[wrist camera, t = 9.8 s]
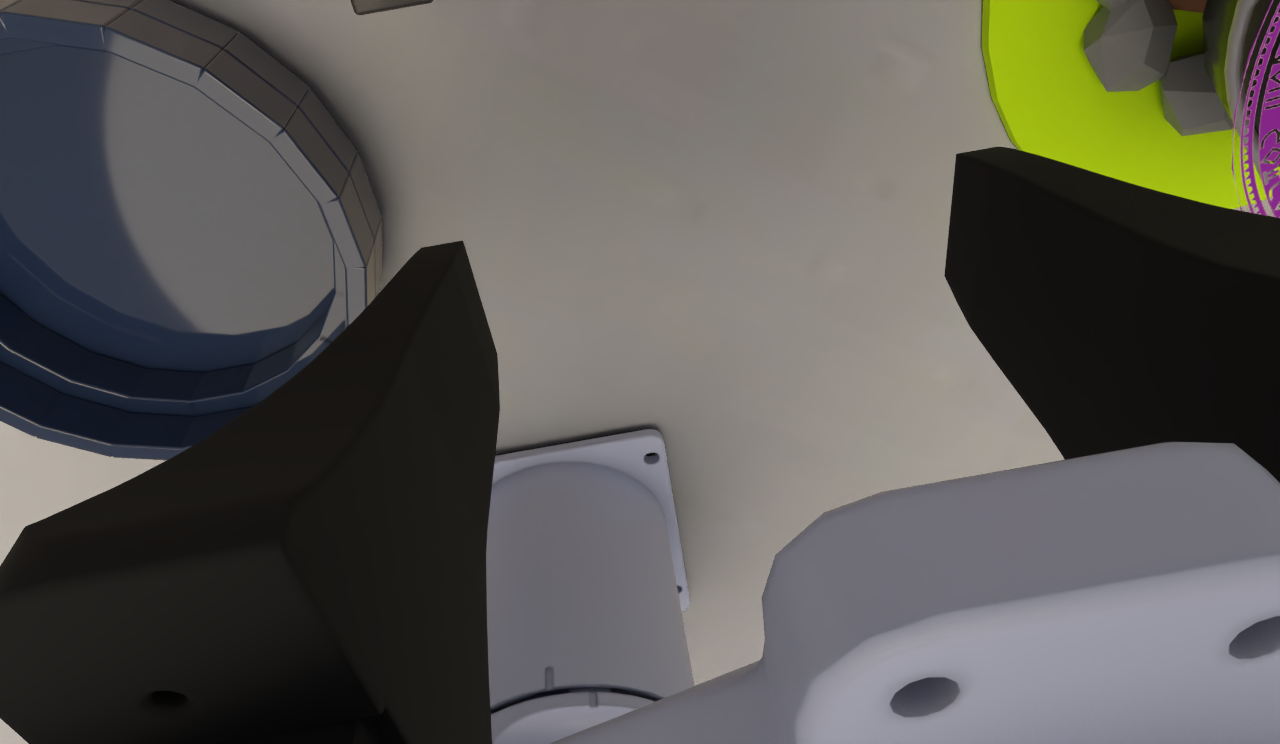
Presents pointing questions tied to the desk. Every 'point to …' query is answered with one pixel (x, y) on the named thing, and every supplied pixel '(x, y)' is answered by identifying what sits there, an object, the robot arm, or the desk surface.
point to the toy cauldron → (1144, 91)
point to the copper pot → (383, 5)
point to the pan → (165, 225)
